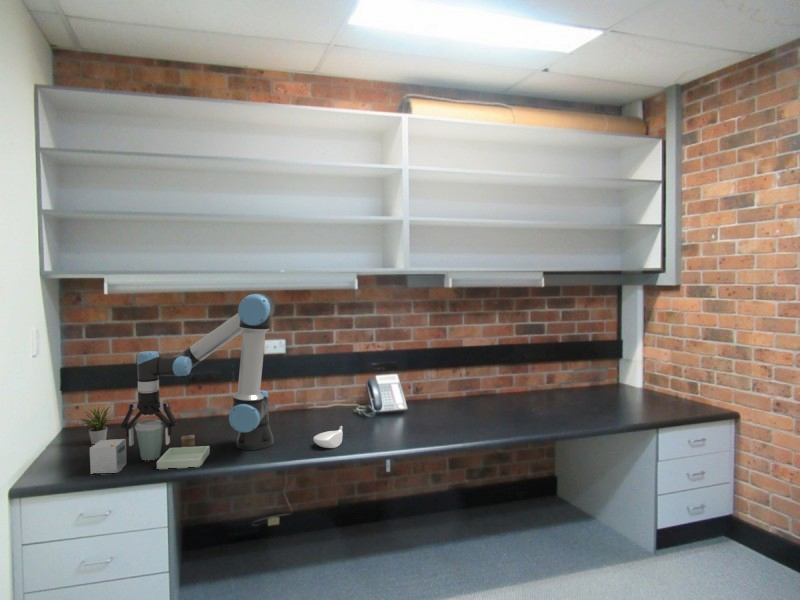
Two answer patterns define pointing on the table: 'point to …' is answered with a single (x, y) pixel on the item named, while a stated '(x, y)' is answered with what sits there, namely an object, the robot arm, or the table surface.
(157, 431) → the disposable coffee cup
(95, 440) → the house plant
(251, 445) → the robot arm
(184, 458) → the tray
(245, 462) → the table surface
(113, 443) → the unit
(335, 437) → the golf club head
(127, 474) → the table surface
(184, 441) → the walnut block
